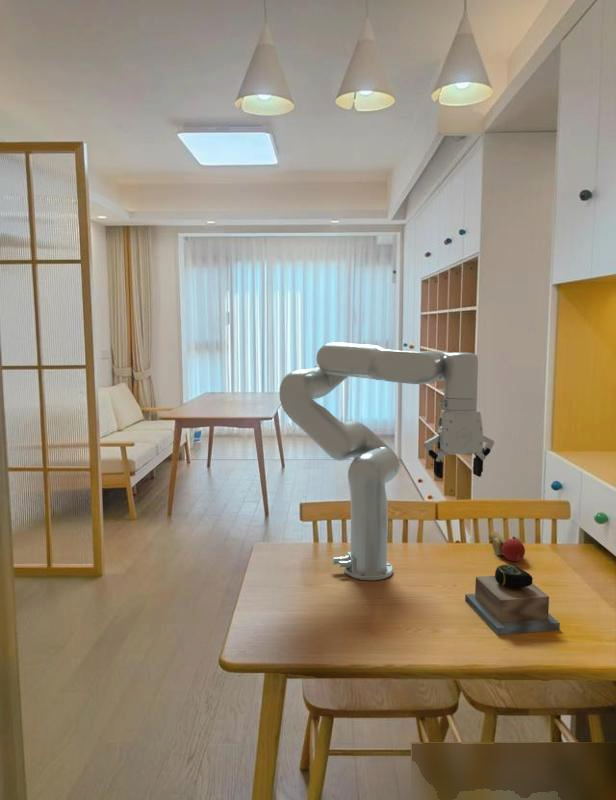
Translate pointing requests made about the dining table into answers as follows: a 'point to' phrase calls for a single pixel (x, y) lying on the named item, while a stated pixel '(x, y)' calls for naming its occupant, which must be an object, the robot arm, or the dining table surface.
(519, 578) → the tape measure
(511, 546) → the kendama
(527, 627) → the plinth
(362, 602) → the dining table surface
